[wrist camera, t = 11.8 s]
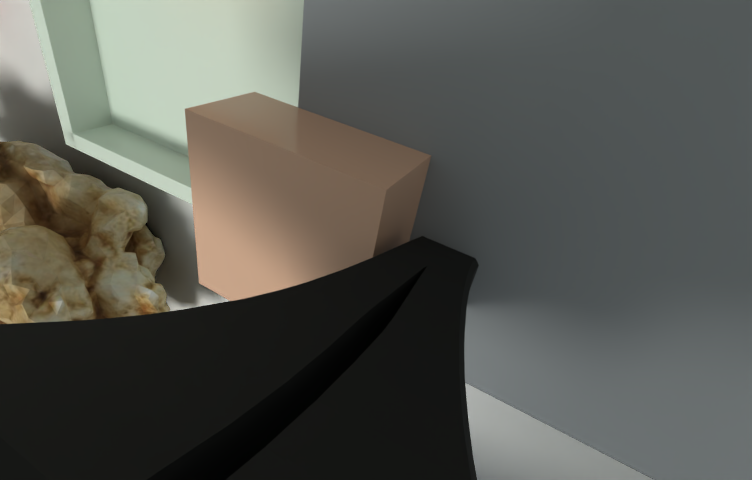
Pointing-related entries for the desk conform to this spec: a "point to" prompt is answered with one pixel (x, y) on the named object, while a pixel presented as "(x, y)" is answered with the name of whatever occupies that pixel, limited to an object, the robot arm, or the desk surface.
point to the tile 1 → (292, 194)
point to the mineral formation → (71, 243)
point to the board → (577, 201)
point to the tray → (161, 72)
